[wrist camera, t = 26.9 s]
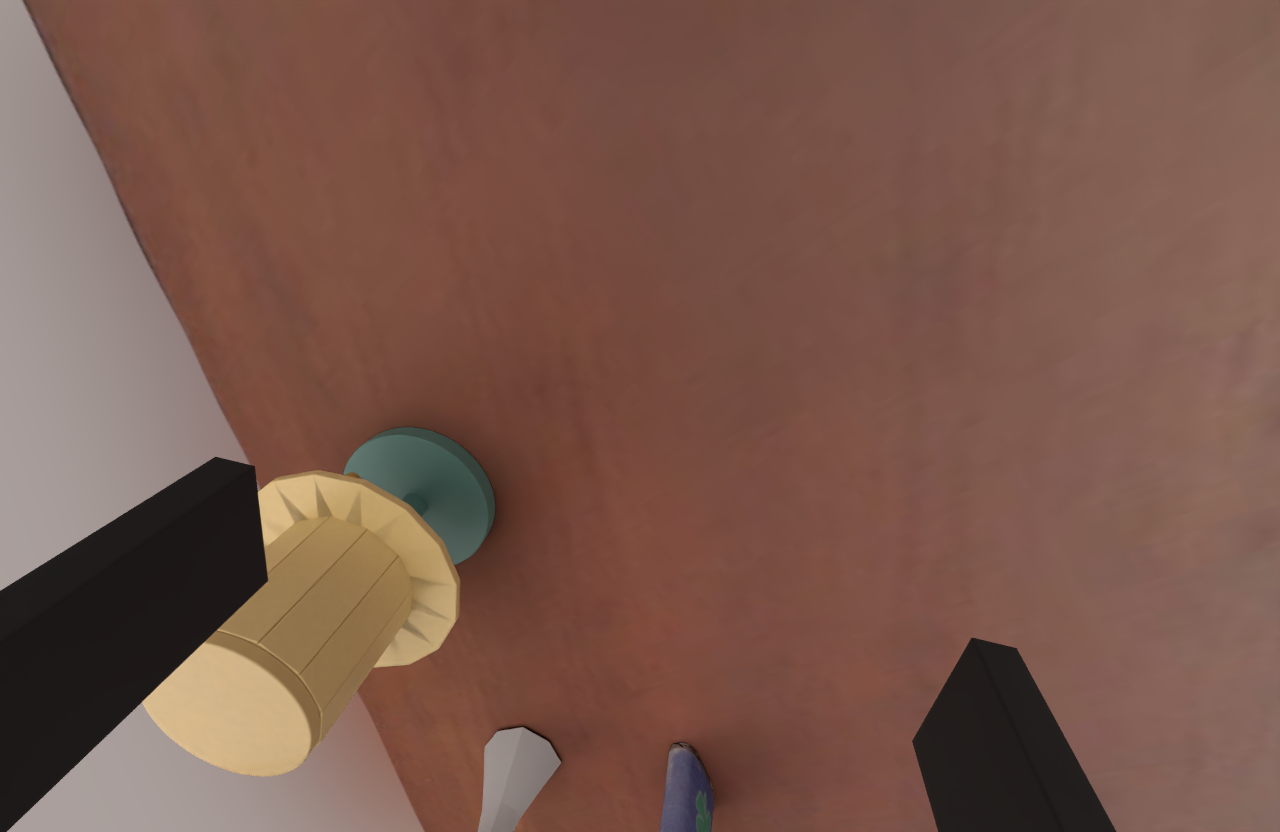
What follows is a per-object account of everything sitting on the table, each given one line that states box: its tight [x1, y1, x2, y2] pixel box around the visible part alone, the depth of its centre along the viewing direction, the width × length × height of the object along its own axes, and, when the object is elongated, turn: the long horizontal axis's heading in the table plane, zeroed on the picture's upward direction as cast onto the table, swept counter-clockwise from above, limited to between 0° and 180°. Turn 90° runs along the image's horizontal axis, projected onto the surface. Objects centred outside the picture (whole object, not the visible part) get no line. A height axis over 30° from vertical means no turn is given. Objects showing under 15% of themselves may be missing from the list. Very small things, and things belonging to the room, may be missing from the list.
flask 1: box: [478, 727, 561, 832], centre depth 55 cm, size 7×7×10 cm
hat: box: [142, 470, 460, 776], centre depth 35 cm, size 15×15×11 cm
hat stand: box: [343, 427, 495, 565], centre depth 40 cm, size 12×12×20 cm
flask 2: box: [660, 743, 714, 832], centre depth 52 cm, size 9×3×11 cm, turn 16°
